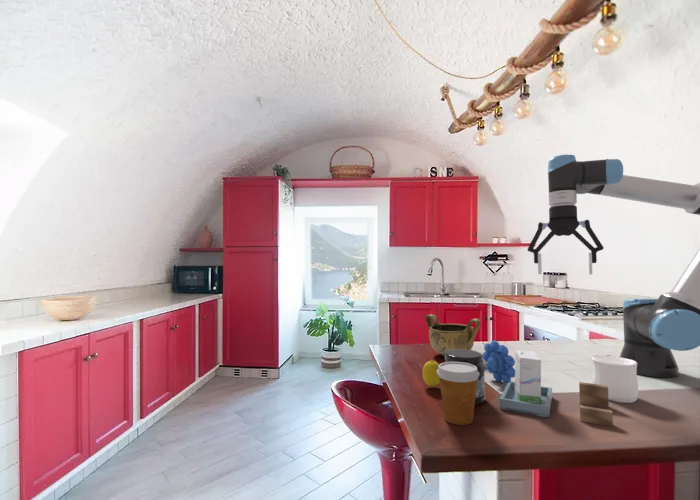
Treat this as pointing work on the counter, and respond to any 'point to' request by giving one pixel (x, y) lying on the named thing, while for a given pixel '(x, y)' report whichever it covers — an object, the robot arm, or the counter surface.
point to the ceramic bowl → (451, 335)
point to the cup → (616, 377)
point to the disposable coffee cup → (458, 391)
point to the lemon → (431, 373)
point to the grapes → (499, 362)
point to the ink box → (527, 377)
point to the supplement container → (475, 360)
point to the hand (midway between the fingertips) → (564, 274)
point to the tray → (512, 404)
